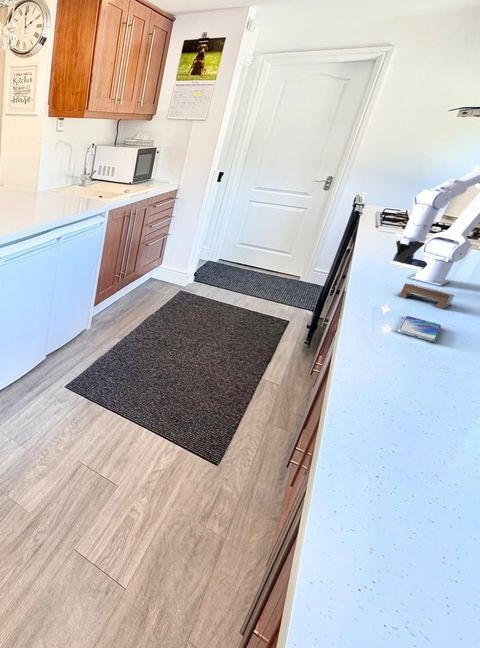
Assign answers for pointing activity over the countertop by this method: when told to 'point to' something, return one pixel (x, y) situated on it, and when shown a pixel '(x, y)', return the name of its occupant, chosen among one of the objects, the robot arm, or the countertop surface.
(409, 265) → the trainer
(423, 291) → the shoe shelf
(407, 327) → the smartphone
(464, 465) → the countertop surface
